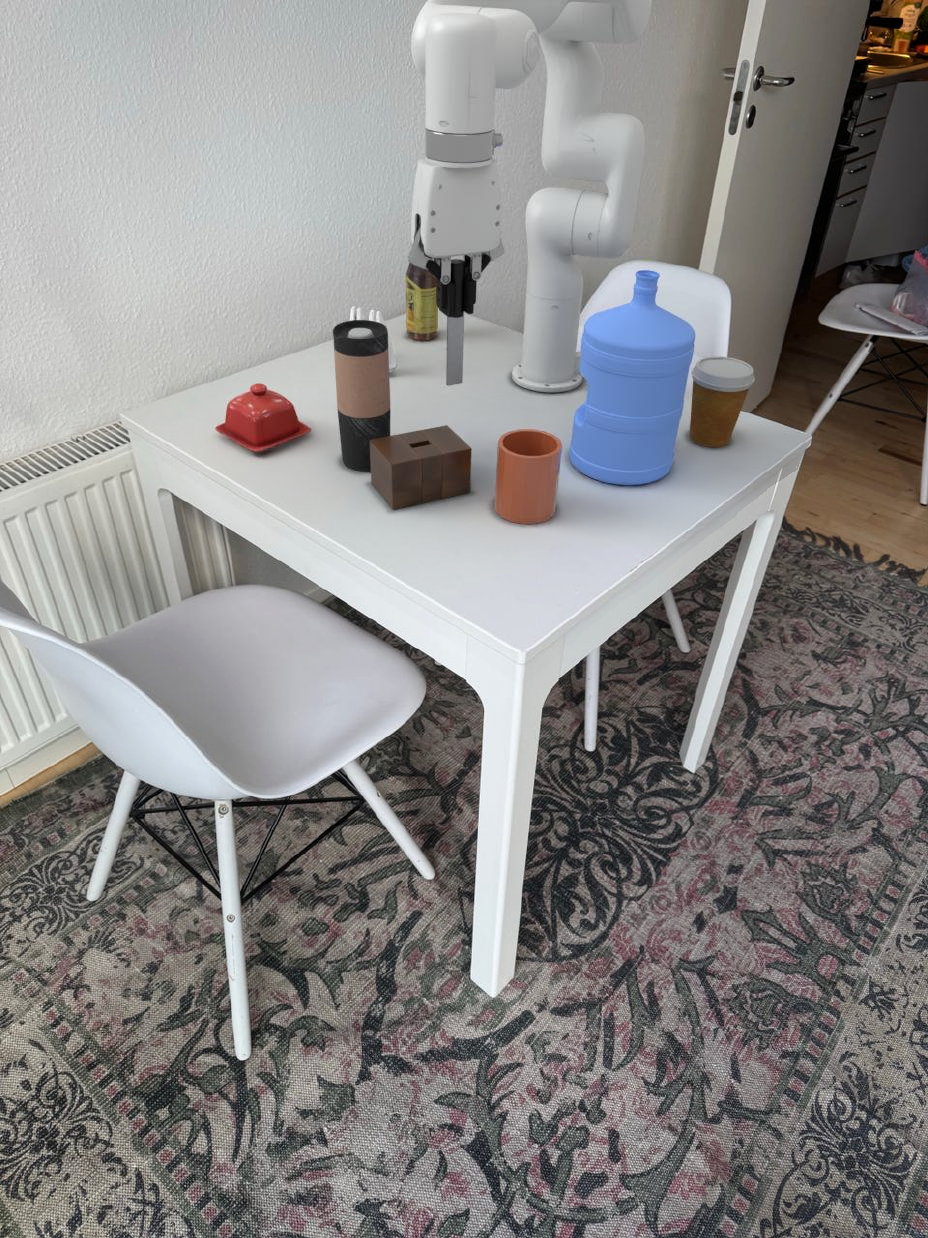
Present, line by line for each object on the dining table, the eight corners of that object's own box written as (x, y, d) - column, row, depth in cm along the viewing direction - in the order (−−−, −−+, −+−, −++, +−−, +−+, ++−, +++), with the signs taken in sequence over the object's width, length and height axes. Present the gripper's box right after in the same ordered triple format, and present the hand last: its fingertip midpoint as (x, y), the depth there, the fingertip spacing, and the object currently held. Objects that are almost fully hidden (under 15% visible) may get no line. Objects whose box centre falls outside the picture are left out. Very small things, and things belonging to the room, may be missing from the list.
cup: (535, 488, 128) (541, 424, 122) (566, 516, 122) (573, 450, 116) (484, 500, 125) (487, 435, 119) (512, 529, 119) (517, 462, 113)
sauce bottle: (405, 330, 177) (404, 225, 165) (436, 330, 178) (437, 225, 166) (406, 342, 172) (405, 234, 160) (438, 342, 173) (439, 234, 161)
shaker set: (399, 376, 159) (398, 314, 152) (379, 381, 157) (377, 319, 150) (364, 355, 167) (362, 295, 160) (345, 359, 165) (341, 299, 158)
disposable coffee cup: (744, 433, 144) (761, 361, 137) (732, 457, 138) (750, 383, 130) (687, 421, 147) (700, 350, 140) (672, 444, 141) (686, 371, 133)
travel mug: (399, 453, 136) (397, 323, 123) (379, 476, 130) (374, 342, 118) (353, 445, 137) (346, 316, 125) (332, 467, 132) (322, 334, 119)
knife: (458, 379, 117) (461, 257, 108) (465, 385, 116) (468, 262, 106) (443, 382, 117) (444, 259, 107) (450, 388, 115) (451, 264, 106)
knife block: (446, 468, 132) (446, 424, 128) (470, 492, 127) (471, 448, 123) (371, 484, 128) (369, 439, 124) (392, 510, 122) (391, 464, 118)
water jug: (691, 464, 135) (730, 275, 118) (630, 499, 126) (662, 300, 109) (610, 430, 144) (634, 250, 127) (547, 461, 135) (565, 271, 118)
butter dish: (316, 436, 139) (312, 385, 134) (256, 460, 133) (249, 407, 127) (271, 413, 146) (265, 363, 140) (211, 435, 139) (203, 384, 134)
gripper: (506, 137, 105) (498, 295, 116) (380, 144, 99) (385, 310, 110) (537, 149, 99) (526, 313, 111) (406, 158, 94) (408, 330, 105)
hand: (455, 310), depth 110 cm, fingers closed on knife, 2 cm apart
